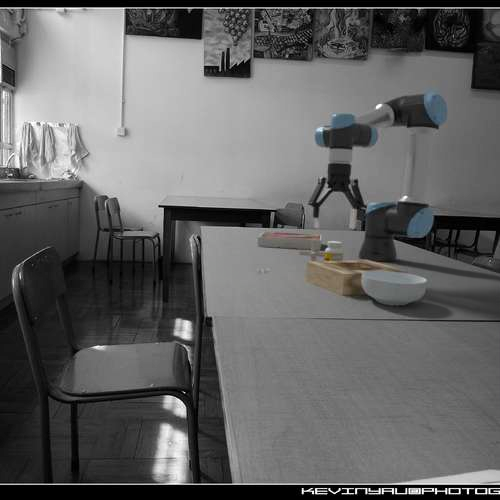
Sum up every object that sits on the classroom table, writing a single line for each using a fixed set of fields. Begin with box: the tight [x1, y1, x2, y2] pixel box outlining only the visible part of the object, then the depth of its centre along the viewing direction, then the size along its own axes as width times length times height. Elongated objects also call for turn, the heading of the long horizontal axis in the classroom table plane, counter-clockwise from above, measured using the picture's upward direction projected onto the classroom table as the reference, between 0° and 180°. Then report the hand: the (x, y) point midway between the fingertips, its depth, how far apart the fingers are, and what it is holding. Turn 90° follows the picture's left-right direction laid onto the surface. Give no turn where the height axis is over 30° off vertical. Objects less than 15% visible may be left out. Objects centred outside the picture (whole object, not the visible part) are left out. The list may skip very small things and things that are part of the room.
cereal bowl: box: [361, 271, 428, 307], centre depth 136 cm, size 17×17×7 cm
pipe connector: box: [299, 240, 325, 262], centre depth 183 cm, size 10×10×10 cm
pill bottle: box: [323, 240, 344, 261], centre depth 171 cm, size 6×6×11 cm
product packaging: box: [257, 231, 323, 251], centre depth 242 cm, size 22×28×5 cm
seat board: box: [306, 259, 408, 296], centre depth 155 cm, size 22×20×6 cm
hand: (335, 228), depth 170 cm, fingers open, 13 cm apart
